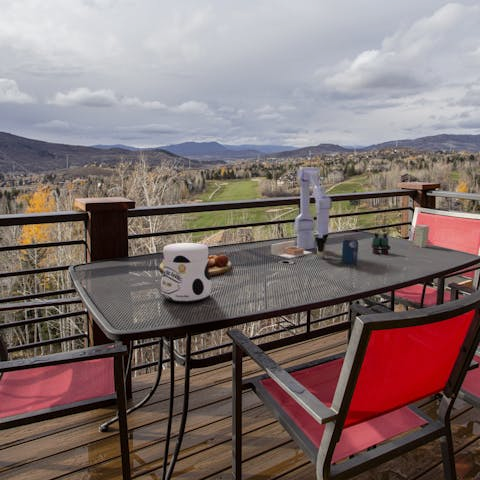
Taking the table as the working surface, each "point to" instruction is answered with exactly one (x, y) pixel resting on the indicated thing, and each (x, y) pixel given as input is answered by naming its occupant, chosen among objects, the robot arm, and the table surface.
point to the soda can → (350, 251)
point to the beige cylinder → (321, 253)
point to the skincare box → (421, 235)
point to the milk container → (185, 272)
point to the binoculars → (380, 244)
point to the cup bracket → (288, 250)
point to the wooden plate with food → (214, 264)
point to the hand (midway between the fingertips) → (321, 249)
